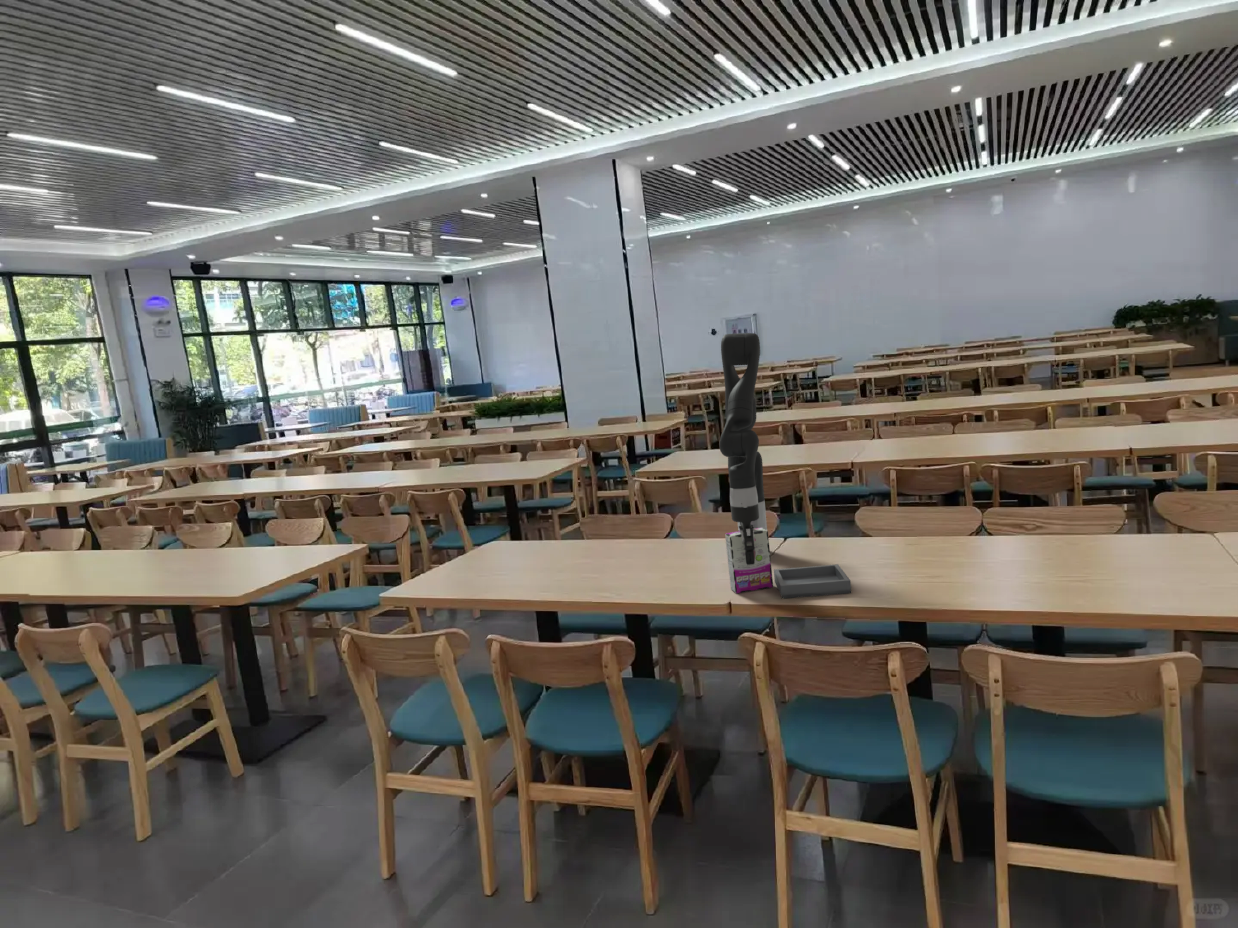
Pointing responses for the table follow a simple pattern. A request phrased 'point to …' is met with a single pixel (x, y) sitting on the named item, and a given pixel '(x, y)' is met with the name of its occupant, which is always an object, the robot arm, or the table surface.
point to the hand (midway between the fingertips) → (749, 560)
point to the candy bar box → (749, 575)
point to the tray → (812, 581)
